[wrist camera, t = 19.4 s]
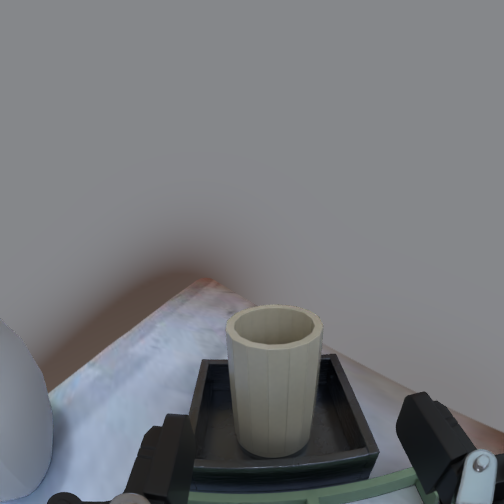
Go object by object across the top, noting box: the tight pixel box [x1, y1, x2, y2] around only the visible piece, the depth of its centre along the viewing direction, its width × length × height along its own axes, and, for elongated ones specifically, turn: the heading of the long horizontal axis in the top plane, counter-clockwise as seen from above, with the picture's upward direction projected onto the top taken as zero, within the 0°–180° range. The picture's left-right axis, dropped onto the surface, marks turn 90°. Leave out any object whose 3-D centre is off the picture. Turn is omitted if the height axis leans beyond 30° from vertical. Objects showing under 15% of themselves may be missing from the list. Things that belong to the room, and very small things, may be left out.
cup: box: [226, 305, 323, 458], centre depth 21 cm, size 7×7×11 cm
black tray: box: [189, 354, 380, 494], centre depth 22 cm, size 14×14×4 cm
